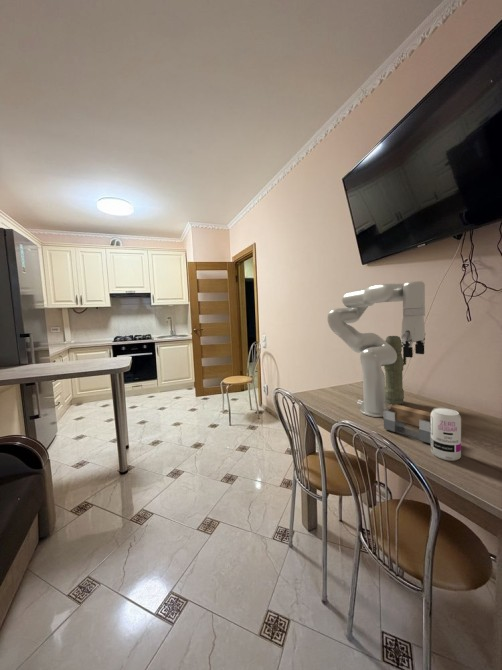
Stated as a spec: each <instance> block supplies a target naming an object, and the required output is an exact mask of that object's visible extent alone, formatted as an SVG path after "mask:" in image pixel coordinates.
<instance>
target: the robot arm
mask: <svg viewBox="0 0 502 670" xmlns="http://www.w3.org/2000/svg"><path fill="white" fill-rule="evenodd" d="M425 285H426V284H425V282H423V281H422V280H414V281H408V282H405V283H383V284H377V285H372V286H368V287H366V288H362V289H355V290H351V291H348V292H346V293H345V294H344V295H343V296H342V297H341V298H342V299H341V302H342V304H343V306H345V307H338V308H334V309H332V310H330V311H328V313H327V318H326V319H327V323H328V326H329V328H330V330H331V331H332V332H333V333H334V334H336V335H337V336H338V337H339V338H340V339H341V340H342V341H343V342H344V343H345V344H346V345H347V346H348V347H349V348H350V349H351V350H352V351H353V352H355V353H357V354H358V353H359V354H360V355H359V358H360V359H359V360H360V364H361V369H362V391H363V394H362V395H363V400H361V399H358V400H357V403H356V405H358V406H360V409H359V411H360V413H361V414H362V415H365V416H368V417H373V418H382V417H383V418H384V410H385V409H387V408H386V402H385V387H386V382H385V373H384V371H383V369H382V367H384V366H386V365H390V364H393V363H394V362H395V361H396V359H397V353H396V351H395V350H394V348H393V347H392V346H391V345H389V344H388V343H387V342H386V339H385V340H384V338H382V337H381V336H380V335H378V334H376V333H373V332H363V333H362V332H359V331H358V330H357V329H356V328H355V327H353V326H352V325H350V324H354V323H356V322H357V321H359V320H360V319H361V317H362V316H363V315H364V313H365V311H366V310H367V309H368V308H369V307H371V306H373V305H374V304H381V303H389V302H390V303H392V302H394V303H395V302H402V317H403V318H402V323H401V334H400V335H401V336H400V339H401V342H402V345H403V347H402V355H403V354H404V357H406V358H413V357H414V356H413V355H414V353H415V354H416V355H424V354H425V340H426V331H425V330H426V329H425V327H426V326H425V317H426V286H425ZM414 343H415V344H414ZM413 344H414V345H415V351H414V353H413V350H414V349H413V347H412V346H413Z"/></svg>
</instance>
